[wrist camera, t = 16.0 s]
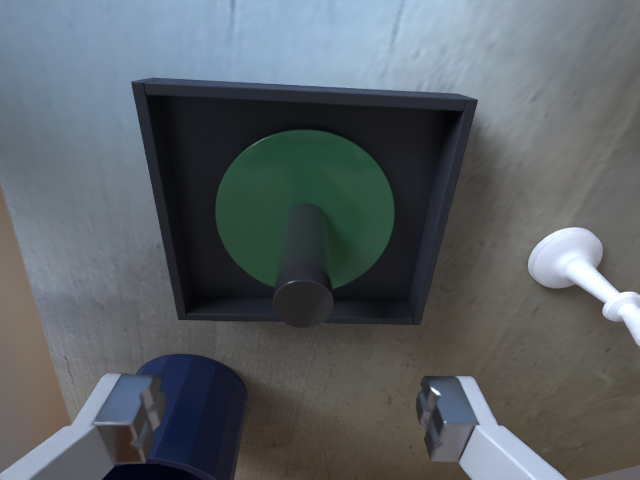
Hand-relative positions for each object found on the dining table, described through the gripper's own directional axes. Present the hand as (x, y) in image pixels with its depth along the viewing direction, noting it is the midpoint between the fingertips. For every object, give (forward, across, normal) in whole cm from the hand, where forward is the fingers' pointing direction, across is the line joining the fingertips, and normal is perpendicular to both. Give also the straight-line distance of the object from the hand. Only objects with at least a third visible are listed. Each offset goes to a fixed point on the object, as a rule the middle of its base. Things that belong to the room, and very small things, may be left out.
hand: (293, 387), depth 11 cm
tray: (+14, 0, 0) cm, 14 cm away
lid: (+13, 0, 0) cm, 13 cm away
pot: (+14, +10, +19) cm, 26 cm away
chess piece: (+14, -19, +3) cm, 24 cm away
